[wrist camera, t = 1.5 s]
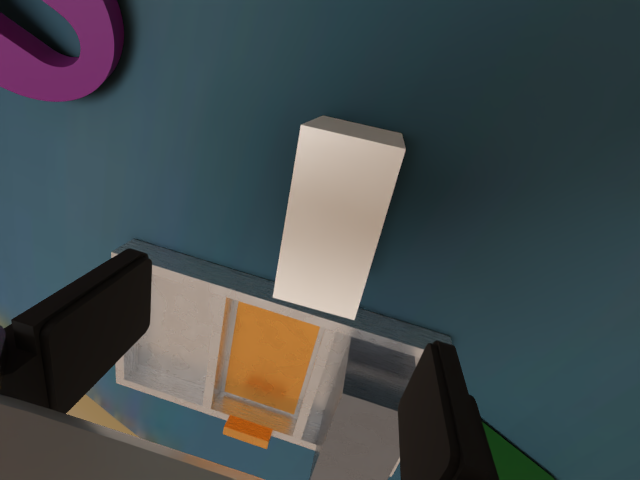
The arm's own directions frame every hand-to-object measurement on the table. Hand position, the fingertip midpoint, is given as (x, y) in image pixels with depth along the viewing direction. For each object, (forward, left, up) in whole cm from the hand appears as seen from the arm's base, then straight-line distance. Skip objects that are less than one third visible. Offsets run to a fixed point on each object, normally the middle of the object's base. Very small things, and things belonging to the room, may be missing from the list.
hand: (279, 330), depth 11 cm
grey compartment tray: (+2, +15, -14) cm, 20 cm away
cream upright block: (0, 0, -14) cm, 14 cm away
